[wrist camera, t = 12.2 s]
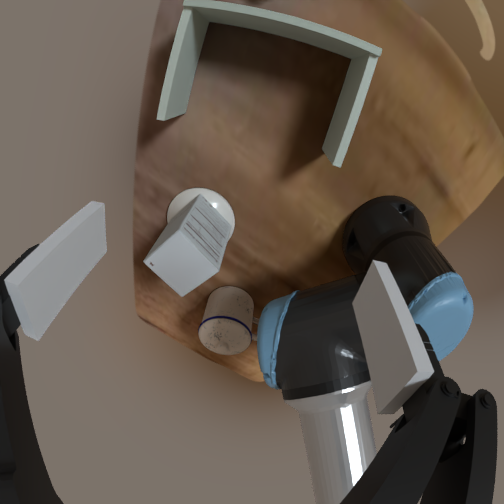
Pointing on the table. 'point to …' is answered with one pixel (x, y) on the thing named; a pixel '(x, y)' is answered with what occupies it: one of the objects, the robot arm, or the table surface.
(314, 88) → the table surface
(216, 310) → the teacup with lid
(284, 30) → the three-sided green enclosure
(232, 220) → the coaster
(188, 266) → the supplement box
